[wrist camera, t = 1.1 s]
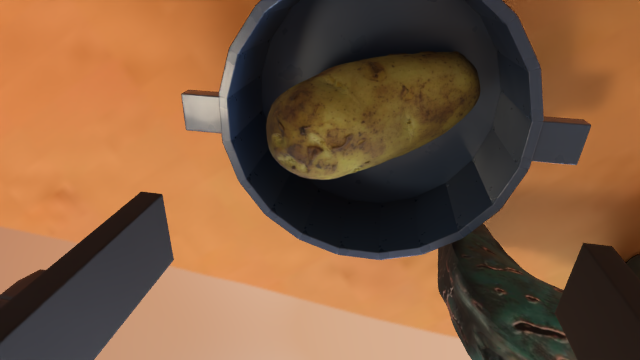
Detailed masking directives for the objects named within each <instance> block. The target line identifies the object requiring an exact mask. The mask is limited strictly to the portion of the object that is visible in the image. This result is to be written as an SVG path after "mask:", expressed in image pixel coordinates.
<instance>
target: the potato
mask: <svg viewBox="0 0 640 360" xmlns="http://www.w3.org/2000/svg"><path fill="white" fill-rule="evenodd" d="M480 91H481V88H480V81H479V77H478V72H477V69H476V68H475V66H474V65H473V64H472V63H471V62H470V61H469V60H468V59H466V57H465V56H464V55H463V54H461V53H459V52H456V51H453V52H433V51H425V52H420V53H417V54H407V53H399V54H389V55H388V56H381V57H374V58H369V59H362V60H359V61H354V62H349V63H345V64H340V65H337V66H334V67H331V68H329V69H327V70H325V71H323V72H321V73H319V74H318V75H315V76H313V77H311V78H310V79H308V80H305V81H303V82H301V83H299V84H296V85H295V86H293V87H291V88H290V89H288V90H287V91H285V92H284V93H282V94H281V95H280V96H279V97H278V98H277V99H276V100H275V101H274V102H273V104H272V105H271V109H270V111H269V114H268V118H267V123H266V132H267V142H268V147H269V150H270V152H271V154H272V156H273V157H274V158H275V160H276V161H277V162H278V163H279V164H280V165H281V166H283V167H284V168H285V169H287V170H288V171H290V172H292V173H294V174H296V175H298V176H299V177H303V178H308V179H320V180H325V179H334V178H338V177H342V176H345V175H347V174H351V173H355V172H357V171H361V170H364V169H367V168H370V167H373V166H376V165H379V164H381V163H383V162H385V161H388V160H390V159H393V158H395V157H399V156H402V155H404V154H407V153H409V152H411V151H413V150H415V149H417V148H419V147H421V146H423V145H425V144H427V143H429V142H431V141H432V140H434V139H436V138H438V137H439V136H441V135H443V134H444V133H446V132H447V131H448V130H450V129H451V128H452V127H453V126H455V125H456V124H457V123H458V122H459V121H461V120H462V119H463V118H464V117H465V116H466V115H467V114H468V113H469V112H470V111H471V110H472V108H473V107H474V106H475V104H476V103H477V101H478V99H479V96H480Z"/></svg>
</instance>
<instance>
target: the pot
mask: <svg viewBox="0 0 640 360" xmlns="http://www.w3.org/2000/svg"><path fill="white" fill-rule="evenodd" d="M425 51H433V52H453V51H456V52H459V53H461V54H463V55H464V56H465V57H466V59H468V60H469V61H470V62H471V63H472V64H473V65H474V66H475V68H476V69H477V72H478V77H479V81H480V88H481V91H480V96H479V99H478V101H477V103H476V104H475V106H474V107H473V108H472V110H471V111H470V112H469V113H468V114H467V115H466V116H465V117H464V118H463V119H462V120H461V121H459V122H458V123H457V124H456V125H455V126H453V127H452V128H451V129H450V130H448V131H447V132H446V133H444V134H443V135H441V136H439V137H438V138H436V139H434V140H432V141H431V142H429V143H427V144H425V145H423V146H421V147H419V148H417V149H415V150H413V151H411V152H409V153H407V154H404V155H402V156H399V157H395V158H393V159H390V160H388V161H385V162H383V163H381V164H379V165H376V166H373V167H370V168H367V169H364V170H361V171H357V172H355V173H351V174H347V175H345V176H342V177H338V178H334V179H325V180H320V179H308V178H303V177H299V176H298V175H296V174H294V173H292V172H290V171H288V170H287V169H285V168H284V167H283V166H281V165H280V164H279V163H278V162H277V161H276V160H275V158H274V157H273V156H272V154H271V152H270V150H269V147H268V142H267V132H266V123H267V118H268V114H269V111H270V109H271V105H272V104H273V102H274V101H275V100H276V99H277V98H278V97H279V96H280V95H281V94H282V93H284V92H285V91H287V90H288V89H290V88H291V87H293V86H295V85H296V84H299V83H301V82H303V81H305V80H308V79H310V78H311V77H313V76H315V75H318V74H319V73H321V72H323V71H325V70H327V69H329V68H331V67H334V66H337V65H340V64H345V63H349V62H354V61H359V60H362V59H369V58H374V57H381V56H388V55H389V54H399V53H407V54H417V53H420V52H425ZM181 96H182V103H183V111H184V118H185V126H186V130H191V131H202V132H213V133H222V141H223V144H224V147H225V149H226V152H227V154H228V157H229V159H230V161H231V164H232V166H233V169H234V171H235V174H236V176H237V179H238V181H239V182H240V184H241V185H242V186H243V187H244V189H245V190H246V191H247V192H248V194H249V195H250V196H251V198H252V199H253V200H254V201H255V203H256V204H257V205H258V206H259V208H260V209H261V210H262V211H263V213H264V214H265V215H266V216H268V217H269V218H270V219H272V220H273V221H274V222H276V223H277V224H279V225H280V226H281V227H283V228H284V229H285V230H287V231H288V232H289V233H291V234H292V235H294V236H295V237H296V238H298V239H299V240H302V241H304V242H307V243H309V244H312V245H314V246H317V247H319V248H322V249H325V250H327V251H330V252H332V253H335V254H338V255H344V256H352V257H360V258H368V259H376V260H384V259H392V258H400V257H408V256H416V255H422V254H425V253H428V252H430V251H433V250H435V249H438V248H440V247H443V246H445V245H447V244H450V243H452V242H455V241H457V240H460V239H462V238H464V237H466V236H467V235H468V234H469V233H471V232H472V231H473V230H475V229H476V228H477V227H479V226H480V225H481V224H482V223H484V222H485V221H486V220H488V219H489V218H490V217H491V216H493V215H494V214H495V213H497V212H498V211H499V210H500V209H501V208H502V207H503V205H504V204H505V202H506V201H507V200H508V198H509V197H510V195H511V194H512V193H513V191H514V190H515V188H516V187H517V186H518V184H519V183H520V181H521V180H522V179H523V177H524V176H525V174H526V173H527V171H528V169H529V167H530V164H531V161H537V162H548V163H559V164H571V165H577V163H578V161H579V158H580V155H581V152H582V150H583V147H584V144H585V141H586V139H587V136H588V133H589V130H590V128H591V125H590V124H589V123H588V122H586V121H585V120H583V119H570V118H556V117H544V115H543V96H542V78H541V67H540V64H539V62H538V59H537V57H536V55H535V53H534V51H533V48H532V46H531V44H530V42H529V39H528V37H527V35H526V33H525V31H524V28H523V26H522V24H521V22H520V20H519V17H518V16H517V14H516V13H515V12H514V11H513V10H512V9H511V8H510V7H509V6H507V5H506V4H505V3H504V2H503V1H502V0H261V1H260V2H258V3H257V4H256V5H255V7H254V9H253V10H252V12H251V14H250V15H249V17H248V18H247V20H246V22H245V23H244V25H243V27H242V28H241V30H240V31H239V33H238V35H237V36H236V38H235V39H234V41H233V43H232V44H231V46H230V48H229V51H228V55H227V59H226V64H225V68H224V73H223V77H222V81H221V86H220V90H219V92H210V91H197V90H187V91H185V92H184V93H182V94H181Z"/></svg>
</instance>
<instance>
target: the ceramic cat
mask: <svg viewBox="0 0 640 360" xmlns="http://www.w3.org/2000/svg"><path fill="white" fill-rule="evenodd" d="M626 264H627V265H628V266H629V268H630V269H631V270H632V271H633V272H634V274H635V275H636V276H637V277H638V278H639V280H640V255H637V256H635V257H633V258H631V259H630V260H629V261H628V262H627V263H626ZM438 289H439V292H440V294H441V296H442V298H443V300H444V302H445V303H446V305H447V307H448V310H449V313H450V317H451V320H452V323H453V325H454V328H455V330H456V332H457V334H458V336H459V338H460V340H461V342H462V343H463V345H464V347H465V349H466V351H467V353H468V355H469V356H470V357H471V359H472V360H577V358H576V356H575V354H574V352H573V350H572V348H571V346H570V344H569V342H568V340H567V338H566V336H565V334H564V331H563V329H562V327H561V325H560V323H559V321H558V319H557V317H556V315H555V311H556V308H557V306H558V303H559V301H560V298H561V296H562V294H563V291H564V290H562V289H559V288H557V287H555V286H552V285H550V284H548V283H546V282H543V281H541V280H539V279H537V278H535V277H534V276H532V275H531V274H529V273H528V272H526V271H525V270H523V269H522V268H521V267H520V266H519V265H518V264H517V263H516V262H515V261H514V260H513V259H512V258H511V257H510V256H509V255H508V254H507V253H506V252H505V251H504V250H503V248H502V247H501V246H500V244H499V243H498V242H497V241H496V240H495V239H494V238H493V236H492V235H491V233H490V232H489V231H488V229H487V228H486V227H485V225H484V224H483V223H482V224H481V225H480V226H479V227H477V228H476V229H475V230H473V231H472V232H471V233H469V234H468V235H467V236H466V237H464V238H462V239H460V240H457V241H455V242H452V243H450V244H447V245H445V246H443V247H440V248H438Z"/></svg>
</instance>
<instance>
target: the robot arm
mask: <svg viewBox="0 0 640 360" xmlns="http://www.w3.org/2000/svg"><path fill="white" fill-rule="evenodd" d="M173 260H174V259H173V253H172V247H171V242H170V236H169V230H168V224H167V219H166V213H165V207H164V201H163V196H162V194H156V193H148V192H140V193H139V194H138V195H137V196H135V197H134V198H133V199H132V200H131V201H129V202H128V203H127V204H126V205H124V206H123V207H122V208H121V209H120V210H118V211H117V212H116V213H115V214H114V215H112V216H111V217H110V218H109V219H108V220H106V221H105V222H104V223H103V224H101V225H100V226H99V227H98V228H97V229H95V230H94V231H93V232H92V233H91V234H89V235H88V236H87V237H86V238H85V239H83V240H82V241H81V242H80V243H78V244H77V245H76V246H75V247H74V248H72V249H71V250H70V251H69V252H68V253H67V254H65V255H64V256H63V257H61V258H60V259H59V260H58V261H57V262H56V263H54V264H53V265H52V266H51V267H50V268H48V269H47V270H38V271H37V272H34V273H32V274H30V275H29V276H27V277H25V278H23V279H21V280H19V281H17V282H16V283H15V284H13V285H12V286H11V287H10V288H8V289H7V290H6V291H5V292H3V293H2V294H1V295H0V360H94V359H95V358H96V357H97V355H98V354H99V353H100V352H101V350H102V349H103V348H104V346H105V345H106V344H107V343H108V341H109V340H110V339H111V338H112V337H113V335H114V334H115V333H116V331H117V330H118V329H119V328H120V326H121V325H122V324H123V323H124V321H125V320H126V319H127V318H128V316H129V315H130V314H131V313H132V311H133V310H134V309H135V308H136V306H137V305H138V304H139V303H140V301H141V300H142V299H143V297H144V296H145V295H146V294H147V293H148V291H149V290H150V289H151V288H152V286H153V285H154V284H155V283H156V281H157V280H158V279H159V277H160V276H161V275H162V274H163V272H164V271H165V270H166V269H167V267H168V266H169V265H170V264H171V262H172V261H173ZM555 315H556V317H557V319H558V321H559V323H560V325H561V327H562V329H563V331H564V334H565V336H566V338H567V340H568V342H569V344H570V346H571V348H572V350H573V352H574V354H575V356H576V358H577V360H640V280H639V278H638V277H637V276H636V275H635V274H634V272H633V271H632V270H631V269H630V268H629V266H628V265H627V264H626V263H625V262H624V260H623V259H622V258H621V257H620V255H619V254H618V253H617V252H616V251H615V249H614V248H613V247H612V246H604V245H596V244H587V243H583V245H582V247H581V250H580V252H579V255H578V257H577V260H576V262H575V264H574V267H573V269H572V272H571V274H570V277H569V279H568V281H567V284H566V286H565V289H564V291H563V294H562V296H561V298H560V301H559V303H558V306H557V308H556V311H555Z"/></svg>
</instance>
